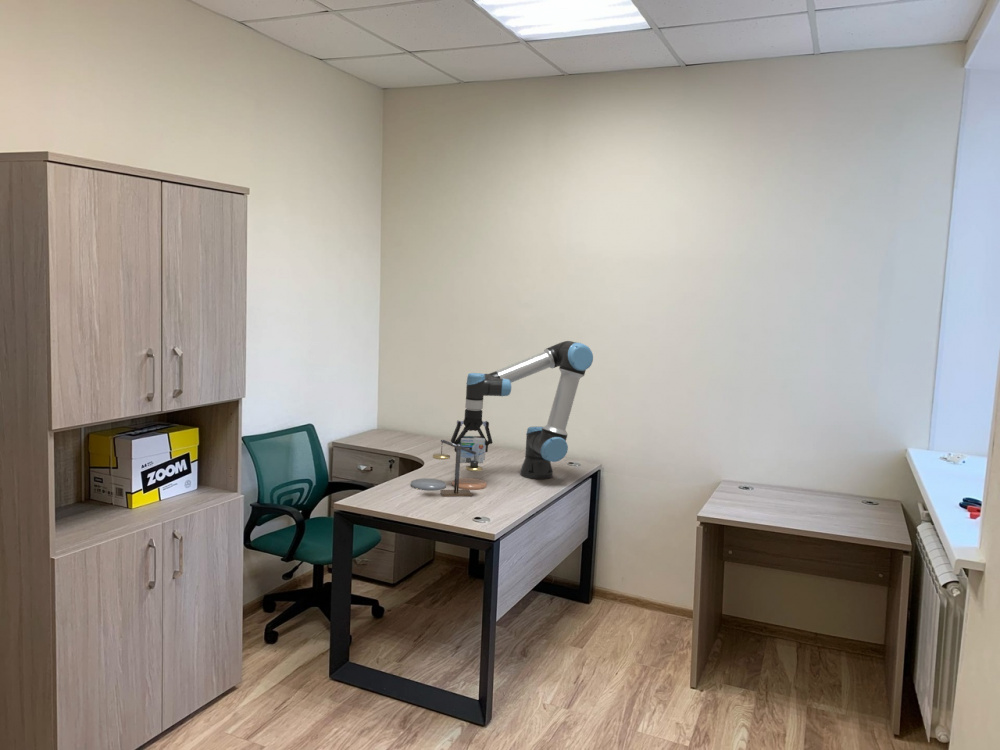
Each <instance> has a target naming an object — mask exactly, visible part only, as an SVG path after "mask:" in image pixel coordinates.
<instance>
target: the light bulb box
mask: <svg viewBox="0 0 1000 750" xmlns="http://www.w3.org/2000/svg"><path fill="white" fill-rule="evenodd" d="M459 444H460V445H461V446H462V447H464V448H467V449H469V450H472V451H475V452H476V454H475V461H478V464H484V462H485V460H484V449H485V439H484V438H482V437H481V436H480V435H464V437H463V438H461V441H460V443H459ZM472 460H474V454H472V453H469V452H466V451H464V450H461V453H460V464H470V461H472Z"/></svg>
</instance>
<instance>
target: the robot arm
mask: <svg viewBox="0 0 1000 750" xmlns="http://www.w3.org/2000/svg"><path fill="white" fill-rule="evenodd" d="M593 361H594V355H593V351H592V350H591V348H590V346H588V345H586V344H584V343H581V342H577V341H572V340H565V341H561V342H559V343H556V344H554V345H551V346H548V347H547V348H544V350H543V351H542V352H540V353H538V354H536V355H533V356H531V357H528V358H525V359H522V360H521V361H518V362H515V363H513V364H511V365H508V366H505V367H502V368H500V369H497V370H495V371H492V372H490V373H480V372H479V373H478V372H471V373H468V374H467V376H466V377H467V379H466V387H465V388H466V390H465V406H464V407H465V410H464V419H463V420H457V421H456V427H455V429H454V431H453V433H452V437H451V440H450V442H451V443H453V444H456V445H457V444H459V443H460V441H461V438H463V437H464V436H466V434H467V433H468V432H472V431H474V432H478V434H479V436H481V437H482V438H484V439H485V449H484V461H485V460H486V453H488V451H489V445H492V444H493V440H492V435H491V432H490V428H489V427H490V423H489V421H488V420H485V421H483V408H484V397H486V396H487V397H489V396H490V397H509V396H510V394H511V392H512V383H514V382H516V381H519V380H522V379H524V378H526V377H529V376H531V375H533V374H536V373H540V372H541V371H544V370H547V369H549V368H550V369H554V368H557V367H559V368H558V370H559V371H560V377H559V381H558V383H557V388H556V391H555V396H554V399H553V401H552V406H551V410H550V413H549V417H548V420H547V424H546V425H544V426H529V427H527V429H526V430H527V431H526V434H525V435H526V436H525V437H526V438H525V440H526V441H525V453H524V454H525V455H524V456H525V457H524V460H523V462H522V465H521V468H520V473H519V474H520V475H521V476H522V477H524V478H527V479H534V480H547V479H551V478H553V477H554V476H553V475H554V471H553V467H552V463H557V462H559V461H561V460H563V459H564V458H565V457H566V455H567V453H568V452H569V450H568V449H569V445H568V443H567V439H568V433H567V431H566V429H567V427H568V421H569V418H570V414H571V411H572V407H573V405H574V402H575V397H576V394H577V390H578V386H579V382H580V379H581V378H583V377H585V375H586V371H587V370H588V369H590V368H591V366H592V364H593ZM463 425H464V427H463V428H462V429H463V430H462V431H461V432H460V429H461V427H462V426H463ZM482 426H483V427H484V430H485V434H486V436H485V435H484V433H483V431H482V429H481V427H482ZM459 432H460V434H459ZM453 450H454V452H455V453H456V447H454V449H453ZM551 462H552V463H551Z"/></svg>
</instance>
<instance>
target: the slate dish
mask: <svg viewBox="0 0 1000 750" xmlns="http://www.w3.org/2000/svg"><path fill="white" fill-rule="evenodd" d="M410 487H411V488H413V487H414V488H413V489H416V488H418V489H417V490H420V489H422V490H421V491H440V490H445V488H446V487H447V483H446V481H445V480H444V481H443V480H442V479H436V478H425V477H424V478H416V479H413V480H411V481H410Z"/></svg>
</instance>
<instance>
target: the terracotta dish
mask: <svg viewBox="0 0 1000 750" xmlns="http://www.w3.org/2000/svg"><path fill="white" fill-rule="evenodd" d="M454 482H455V479H453V480H452V482H451V485H452V487H454ZM487 483H488V482H487V481H485V480H483V479H478V478H471V477H461V478H460V477H459V488H458V490H467V489H469V491H478V490H484V489H486V488H487V487H488V486H487V485H488V484H487Z"/></svg>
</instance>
